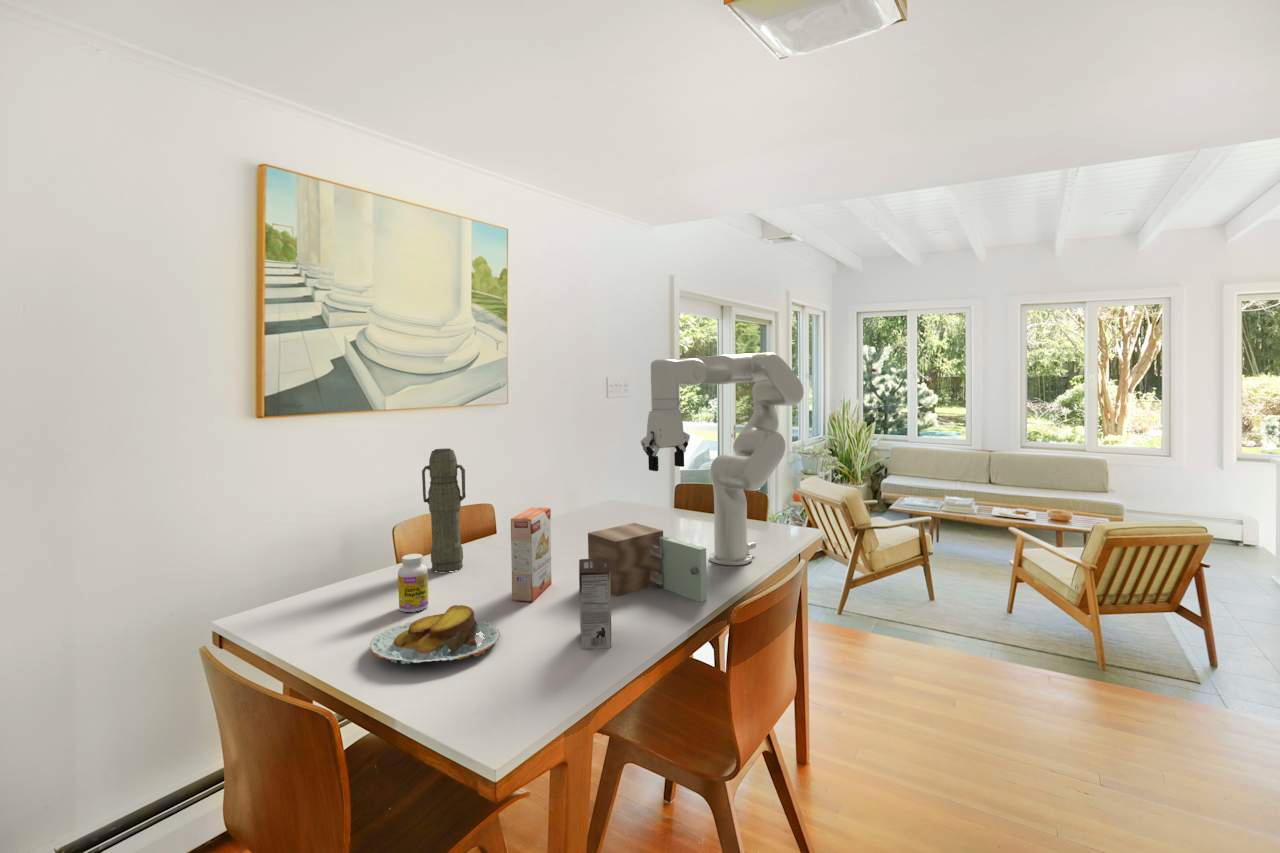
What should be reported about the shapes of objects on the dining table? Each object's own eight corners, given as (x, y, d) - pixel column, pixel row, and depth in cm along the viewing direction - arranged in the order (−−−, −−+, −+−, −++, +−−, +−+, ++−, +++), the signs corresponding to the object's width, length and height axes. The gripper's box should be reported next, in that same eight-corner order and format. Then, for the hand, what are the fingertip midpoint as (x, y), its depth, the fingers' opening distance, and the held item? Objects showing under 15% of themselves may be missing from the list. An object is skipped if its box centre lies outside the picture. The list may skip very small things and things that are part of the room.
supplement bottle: (401, 615, 143) (398, 562, 142) (397, 606, 149) (395, 555, 148) (430, 610, 146) (428, 557, 145) (426, 601, 152) (424, 551, 151)
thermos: (470, 570, 177) (465, 449, 174) (427, 575, 173) (421, 452, 170) (467, 561, 185) (462, 446, 182) (425, 566, 181) (420, 448, 178)
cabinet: (635, 571, 173) (634, 522, 172) (674, 585, 161) (674, 533, 160) (589, 584, 163) (587, 532, 162) (627, 600, 150) (626, 544, 149)
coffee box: (580, 631, 133) (579, 558, 131) (610, 629, 133) (609, 557, 132) (580, 649, 124) (578, 571, 122) (612, 648, 124) (610, 570, 123)
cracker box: (534, 603, 150) (531, 519, 148) (511, 601, 151) (508, 518, 150) (553, 584, 164) (551, 506, 162) (532, 582, 165) (530, 506, 163)
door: (664, 584, 162) (664, 536, 161) (707, 599, 150) (706, 547, 149) (655, 587, 160) (654, 538, 159) (697, 603, 148) (697, 550, 147)
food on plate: (364, 640, 131) (362, 610, 130) (479, 616, 144) (478, 588, 143) (381, 690, 109) (380, 655, 109) (516, 656, 122) (515, 624, 121)
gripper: (678, 403, 173) (679, 463, 175) (631, 406, 162) (633, 470, 163) (697, 404, 167) (698, 466, 169) (651, 407, 156) (652, 473, 158)
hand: (666, 468), depth 166 cm, fingers open, 9 cm apart
